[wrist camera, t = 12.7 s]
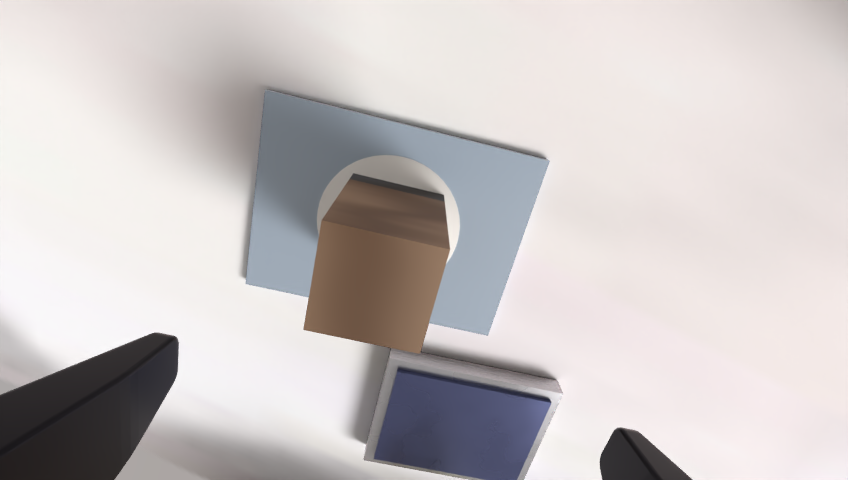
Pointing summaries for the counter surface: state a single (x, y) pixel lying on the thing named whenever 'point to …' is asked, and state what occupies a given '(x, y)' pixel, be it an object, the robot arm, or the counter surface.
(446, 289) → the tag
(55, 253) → the counter surface
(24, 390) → the robot arm
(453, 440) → the tray
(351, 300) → the stamp
